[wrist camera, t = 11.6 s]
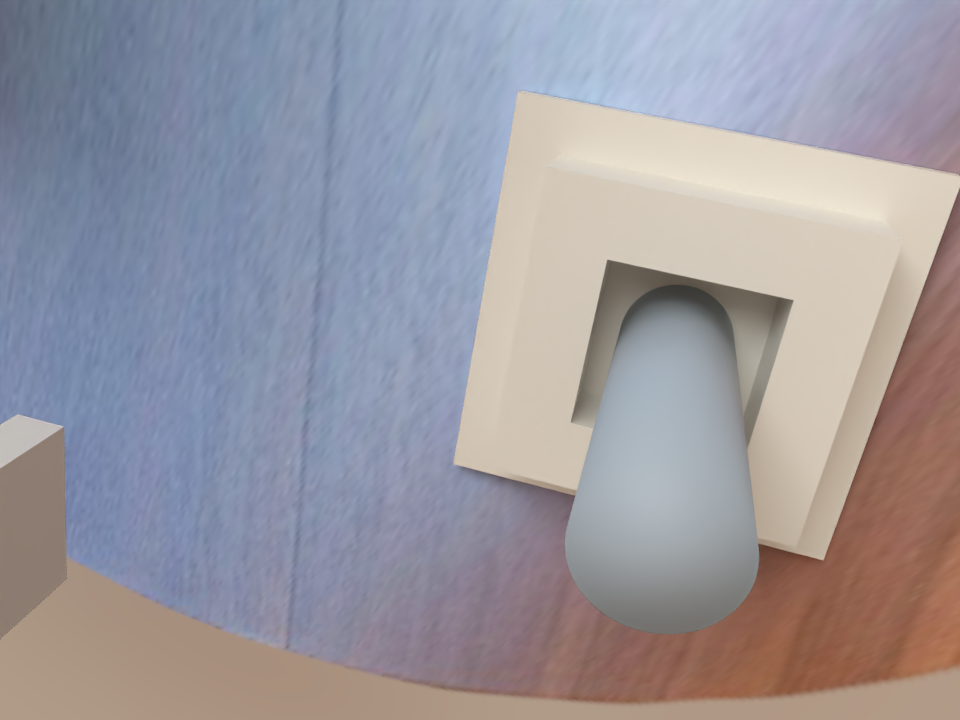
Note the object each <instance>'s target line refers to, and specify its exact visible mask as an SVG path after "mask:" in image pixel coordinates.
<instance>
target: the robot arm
mask: <svg viewBox="0 0 960 720" xmlns="http://www.w3.org/2000/svg"><path fill="white" fill-rule="evenodd" d="M66 568H67V567H66V509H65V452H64V427H63V426H60V425H56V424H52V423H48V422H45V421H41V420H37V419H33V418H29V417H26V416H22V415H18V414H17V415H16V416H14V417H12V418H11V419H9V420H7V421H6V422H4V423H2V424H1V425H0V639H1V638H2V637H3V636H4V635H5V634H6V633H8V632H9V631H10V630H11V629H12V628H13V627H14V626H15V625H16V624H17V623H19V622H20V621H21V620H22V619H23V618H24V617H25V616H26V615H27V614H29V613H30V612H31V611H32V610H33V609H34V608H35V607H36V606H37V605H38V604H40V603H41V602H42V601H43V600H44V599H45V598H46V597H47V596H49V595H50V594H51V593H52V592H53V591H54V590H55V589H56V588H57V587H58V586H60V585H61V584H62V583H63V582H64V581H65V580H66V579H67V569H66Z"/></svg>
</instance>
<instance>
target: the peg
mask: <svg viewBox="0 0 960 720" xmlns="http://www.w3.org/2000/svg"><path fill="white" fill-rule="evenodd" d="M565 554H566V561H567V564H568V568H569V571H570V573H571V575H572V578H573V580H574V582H575V583H576V585H577V587H578V588H579V590H580V591H581V593H582V594H583V595H584V596H585V597H586V599H587V600H588V601H589V602H590V603H591V604H592V605H593V606H594V607H595V608H597V609H598V610H599V611H601V612H602V613H603V614H604V615H606V616H608V617H609V618H611V619H613V620H614V621H616V622H618V623H620V624H623V625H625V626H627V627H630V628H633V629H636V630H639V631H644V632H648V633H656V634H682V633H689V632H693V631H698V630H701V629H704V628H707V627H710V626H712V625H714V624H716V623H718V622H720V621H721V620H723V619H724V618H726V617H727V616H729V615H730V614H731V613H732V612H734V611H735V610H736V609H737V608H738V607H739V606H740V605H741V603H742V602H743V601H744V600H745V599H746V597H747V596H748V594H749V592H750V591H751V589H752V587H753V584H754V582H755V580H756V576H757V572H758V566H759V546H758V538H757V529H756V521H755V512H754V504H753V495H752V486H751V478H750V469H749V461H748V452H747V444H746V435H745V427H744V418H743V410H742V401H741V393H740V384H739V375H738V367H737V358H736V350H735V341H734V333H733V327H732V323H731V320H730V318H729V316H728V314H727V312H726V310H725V309H724V308H723V306H722V305H721V304H720V303H719V302H718V301H717V300H716V299H715V298H714V297H712V296H711V295H710V294H708V293H706V292H704V291H702V290H700V289H698V288H695V287H691V286H686V285H667V286H662V287H659V288H656V289H653V290H651V291H649V292H647V293H645V294H644V295H642V296H641V297H639V298H638V299H637V300H636V301H635V302H634V303H633V304H632V305H631V307H630V308H629V309H628V311H627V312H626V314H625V316H624V319H623V321H622V324H621V328H620V332H619V335H618V339H617V343H616V346H615V350H614V354H613V358H612V361H611V365H610V369H609V373H608V376H607V380H606V384H605V387H604V391H603V395H602V399H601V402H600V406H599V410H598V414H597V417H596V421H595V425H594V428H593V432H592V436H591V440H590V443H589V447H588V451H587V455H586V458H585V462H584V466H583V469H582V473H581V477H580V481H579V484H578V488H577V492H576V496H575V499H574V503H573V507H572V510H571V514H570V518H569V522H568V525H567V529H566V536H565Z"/></svg>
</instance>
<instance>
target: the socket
mask: <svg viewBox="0 0 960 720" xmlns="http://www.w3.org/2000/svg"><path fill="white" fill-rule="evenodd" d="M959 188H960V175H958V174H954V173H949V172H944V171H939V170H934V169H928V168H923V167H918V166H913V165H908V164H902V163H897V162H892V161H887V160H882V159H876V158H871V157H866V156H861V155H856V154H850V153H845V152H840V151H835V150H830V149H824V148H819V147H814V146H809V145H804V144H798V143H793V142H788V141H783V140H778V139H772V138H767V137H762V136H757V135H752V134H746V133H741V132H736V131H731V130H726V129H720V128H715V127H710V126H705V125H700V124H694V123H689V122H684V121H679V120H674V119H668V118H663V117H658V116H653V115H648V114H642V113H637V112H632V111H627V110H622V109H616V108H611V107H606V106H601V105H596V104H590V103H585V102H580V101H575V100H570V99H564V98H559V97H554V96H549V95H544V94H538V93H533V92H528V91H523V90H521V91H518V94H517V100H516V106H515V112H514V117H513V123H512V129H511V135H510V140H509V146H508V152H507V158H506V163H505V169H504V175H503V181H502V186H501V192H500V198H499V204H498V209H497V215H496V221H495V227H494V233H493V238H492V244H491V250H490V256H489V261H488V267H487V273H486V279H485V284H484V290H483V296H482V302H481V307H480V313H479V319H478V325H477V330H476V336H475V342H474V348H473V353H472V359H471V365H470V371H469V377H468V382H467V388H466V394H465V400H464V405H463V411H462V417H461V423H460V428H459V434H458V440H457V446H456V451H455V457H454V463H453V464H455V465H459V466H463V467H467V468H471V469H474V470H478V471H482V472H486V473H490V474H494V475H497V476H501V477H505V478H509V479H513V480H517V481H520V482H524V483H528V484H532V485H536V486H540V487H544V488H547V489H551V490H555V491H559V492H563V493H567V494H570V495H574V496H576V492H577V488H578V484H579V481H580V477H581V473H582V469H583V466H584V462H585V458H586V455H587V451H588V447H589V443H590V440H591V436H592V432H593V428H594V425H595V421H596V417H597V414H598V410H599V406H600V402H601V399H602V395H603V391H604V387H605V384H606V380H607V376H608V373H609V369H610V365H611V361H612V358H613V354H614V350H615V346H616V343H617V339H618V335H619V332H620V328H621V324H622V321H623V319H624V316H625V314H626V312H627V311H628V309H629V308H630V307H631V305H632V304H633V303H634V302H635V301H636V300H637V299H638V298H639V297H641V296H642V295H644V294H645V293H647V292H649V291H651V290H653V289H656V288H659V287H662V286H667V285H686V286H691V287H695V288H698V289H700V290H702V291H704V292H706V293H708V294H710V295H711V296H712V297H714V298H715V299H716V300H717V301H718V302H719V303H720V304H721V305H722V306H723V308H724V309H725V310H726V312H727V314H728V316H729V318H730V320H731V323H732V327H733V333H734V341H735V350H736V358H737V367H738V375H739V384H740V393H741V401H742V410H743V418H744V427H745V435H746V444H747V452H748V461H749V469H750V478H751V486H752V495H753V504H754V512H755V521H756V529H757V538H758V544H762V545H766V546H770V547H774V548H777V549H781V550H785V551H789V552H793V553H797V554H801V555H804V556H808V557H812V558H816V559H820V560H824V557H825V555H826V552H827V549H828V547H829V544H830V541H831V538H832V536H833V533H834V530H835V527H836V525H837V522H838V519H839V516H840V514H841V511H842V508H843V505H844V503H845V500H846V497H847V494H848V492H849V489H850V486H851V484H852V481H853V478H854V475H855V473H856V470H857V467H858V464H859V462H860V459H861V456H862V453H863V451H864V448H865V445H866V442H867V440H868V437H869V434H870V432H871V429H872V426H873V423H874V421H875V418H876V415H877V412H878V410H879V407H880V404H881V401H882V399H883V396H884V393H885V390H886V388H887V385H888V382H889V380H890V377H891V374H892V371H893V369H894V366H895V363H896V360H897V358H898V355H899V352H900V349H901V347H902V344H903V341H904V338H905V336H906V333H907V330H908V328H909V325H910V322H911V319H912V317H913V314H914V311H915V308H916V306H917V303H918V300H919V297H920V295H921V292H922V289H923V286H924V284H925V281H926V278H927V276H928V273H929V270H930V267H931V265H932V262H933V259H934V256H935V254H936V251H937V248H938V245H939V243H940V240H941V237H942V234H943V232H944V229H945V226H946V224H947V221H948V218H949V215H950V213H951V210H952V207H953V204H954V202H955V199H956V196H957V193H958V191H959Z"/></svg>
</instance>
